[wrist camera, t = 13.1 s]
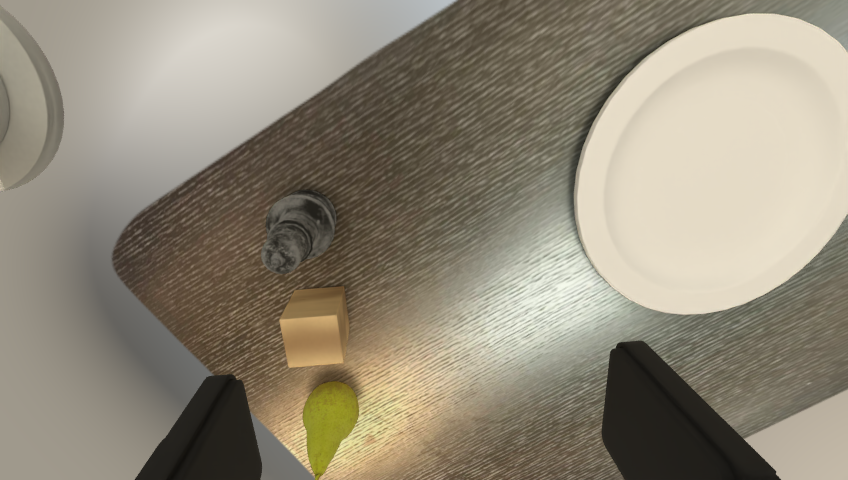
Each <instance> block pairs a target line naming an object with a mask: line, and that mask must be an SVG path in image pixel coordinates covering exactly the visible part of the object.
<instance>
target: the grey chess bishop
mask: <svg viewBox="0 0 848 480" xmlns="http://www.w3.org/2000/svg"><path fill="white" fill-rule="evenodd" d="M336 219H337V218H336V211H335V209H334V206H333V204H332V203H331V202H330V200H329V199H328V198H327V197H325V196H324V195H323V194H321V193H319V192H317V191H313V190H299V191H296V192H294V193H292V194H291V195H289V196H287V197H284V198H282V199H281V200H279V201H278V202H276V203H275V204H274V205H273V207H272V208H271V209H270V211H269V213H268V215H267V219H266V230H267V241H266V243H265V244H264V245H263V248H262V252H261V257H262V261H263V263H264V265H265V266H266V267H267V268H268V269H269V270H270V271H272V272H274V273H277V274H286V273H289V272H291V271H293V270H294V269H296V268H297V266H298V265H299V263H300V262H302V261H304V260H305V259H311V258H314V257H317V256H319V255H320V254H322V253H323V252H325V251H326V250H327V248H328V247H329V246H330V245H331V242H332V240H333V238H334V233H335V225H336Z"/></svg>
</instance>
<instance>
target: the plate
mask: <svg viewBox="0 0 848 480" xmlns="http://www.w3.org/2000/svg"><path fill="white" fill-rule="evenodd" d="M574 211H575V220H576V225H577V230H578V234H579V238H580V241H581V243H582V245H583V248H584V250H585V253H586V255H587V257H588V259H589V260H590V262H591V263H592V265H593V266H594V268H595V270H596V271H597V272H598V273H599V275H600V276H601V277H602V278H603V279H604V280H605V281H606V282H607V283H608V284H609V285H610V286H611V287H612V288H613V289H615V290H616V291H618V292H619V293H620V294H622V295H623V296H624V297H626V298H627V299H629V300H631V301H633V302H635V303H637V304H639V305H641V306H644V307H646V308H650V309H653V310H657V311H660V312H665V313H674V314H683V315H685V314H705V313H710V312H716V311H721V310H726V309H729V308H732V307H735V306H738V305H741V304H745V303H747V302H749V301H751V300H753V299H755V298H758V297H760V296H762V295H764V294H766V293H768V292H769V291H771V290H773V289H774V288H776V287H777V286H779V285H781V284H782V283H784V282H785V281H787V280H788V279H789V278H791V277H792V276H793V275H794V274H796V273H797V272H798V271H800V270H801V269H802V268H803V267H804V266H805V265H806V264H807V263H808V262H809V261H810V260H811V259H813V258H814V257H815V256H816V255H817V254H818V253H819V252H820V251H821V249H822V248H823V247H824V246H825V245H826V243H827V242H828V241H829V240H830V238H831V237H832V236H833V235H834V234H835V232H836V231H837V229H838V228H839V226H840V225H841V223H842V221H843V220H844V218H845V217H846V215H847V214H848V52H847V51H846V50H845V49H844V48H843V47H842V45H841V44H840V43H839V42H838V41H837V40H836V39H834V38H833V37H831V36H830V35H829V34H827V33H826V32H825V31H823V30H822V29H820V28H819V27H816V26H814V25H812V24H809V23H807V22H805V21H803V20H800V19H798V18H793V17H788V16H783V15H778V14H744V15H738V16H732V17H727V18H722V19H717V20H715V21H712V22H709V23H706V24H703V25H700V26H697V27H694V28H692V29H690V30H688V31H686V32H684V33H682V34H680V35H679V36H677V37H675V38H673V39H671V40H669V41H667V42H666V43H665V44H663V45H662V46H660V47H659V48H658V49H656V50H655V51H654V52H652V53H651V54H649V55H648V56H647V57H645V58H644V59H643V60H642V61H641V62H640V63H639V64H638V65H637V66H636V67H635V68H634V69H633V70H632V71H631V72H630V73H629V74H628V75H626V76H625V77H624V79H623V80H622V81H621V82H620V84H619V85H618V86H617V87H616V89H615V90H614V91H613V92H612V94H611V95H610V96H609V98H608V99H607V100H606V102H605V104H604V105H603V107H602V109H601V110H600V112H599V114H598V115H597V117H596V119H595V120H594V122H593V124H592V127H591V129H590V131H589V134H588V136H587V138H586V141H585V143H584V145H583V148H582V152H581V156H580V159H579V163H578V167H577V171H576V179H575V188H574Z"/></svg>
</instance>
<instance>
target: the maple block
mask: <svg viewBox="0 0 848 480" xmlns="http://www.w3.org/2000/svg"><path fill="white" fill-rule="evenodd" d="M279 321H280V326H281V331H282V336H283V341H284V346H285V352H286V357H287V362H288V367H289V368H293V367H305V366H316V365H327V364H338V363H344V358H345V352H346V347H347V342H348V336H349V331H350V325H349V318H348V310H347V303H346V295H345V288H344V286H339V287H327V288H315V289H302V290H294V292H293V294H292V296H291V298H290V300H289V302H288V304H287V306H286V308H285V310H284V312H283V314H282V316H281V318H280V320H279Z"/></svg>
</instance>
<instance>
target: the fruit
mask: <svg viewBox="0 0 848 480" xmlns="http://www.w3.org/2000/svg"><path fill="white" fill-rule="evenodd" d="M358 416H359V406H358V400H357V397H356V394H355V393H354V391H353V390H352V388H350V387H349V386H348V385H347V384H345V383H342V382H337V381H331V382H327V383H324V384H321V385H319V386H318V387H317V388H315V389H314V390H313V391H312V393H311V394H310V396H309V397H308V399H307V401H306V403H305V406H304V410H303V423H304V426H305V428H306V430H307V451H308V457H309V461H310V464H311V468H312V470H313V472H314V474H315V480H318V479H319V477H320V476H322V475H323V474H324V472H325V470H326V468H327V466H328V465H329V463H330V461H331V460H332V458H333V457H334V455H335V453H336V451H337V449H338V447H339V445H340V443H341V441H342V440H343V439H345V438H346V437H347V436H348V435H349V434H350V432H351V431H352V430H353V428H354V426H355V424H356V422H357V420H358Z"/></svg>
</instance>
